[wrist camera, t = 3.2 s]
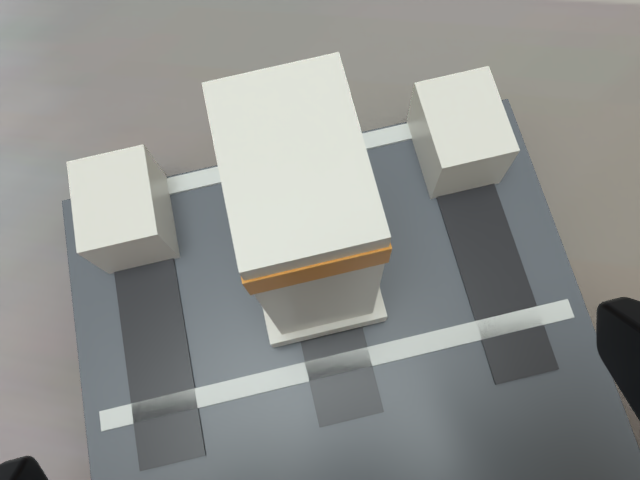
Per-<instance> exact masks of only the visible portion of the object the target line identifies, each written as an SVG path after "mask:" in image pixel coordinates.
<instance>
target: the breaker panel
mask: <svg viewBox="0 0 640 480" xmlns="http://www.w3.org/2000/svg"><path fill="white" fill-rule="evenodd" d="M362 135H363V139H364V142H365V146H366V150H367V153H368V157H369V160H370V164H371V167H372V171H373V174H374V178H375V181H376V185H377V188H378V192H379V195H380V199H381V202H382V206H383V210H384V213H385V217H386V220H387V224H388V227H389V231H390V234H391V241H390V242H391V246H392V251H391V255H390V259H389V263H385V265H384V269H383V273H382V278H381V282H380V286H379V287H380V290H381V294H382V298H383V301H384V305H385V309H386V313H387V316H388V317H387V319H386V321H384V322H380V323H375V324H371V325H367V326H363V327H359V328H354V329H350V330H346V331H342V332H338V333H333V334H329V335H325V336H321V337H317V338H313V339H308V340H304V341H300V342H296V343H292V344H287V345H283V346H279V347H275V348H273V347H272V346H271V345H270V341H269V337H268V332H267V327H266V322H265V317H264V312H263V307H262V306H261V304H260V303H259V301H258V300H257V298H256V297H255V295H254V294H253V295H250V294H249V293H248V291H247V290H246V288H245V287H244V286H243V284H242V280H241V275H240V274H239V271H238V266H237V261H236V256H235V251H234V246H233V241H232V235H231V230H230V225H229V220H228V215H227V210H226V205H225V200H224V195H223V190H222V184H221V179H220V174H219V169H218V165H217V166H212V167H208V168H204V169H199V170H195V171H190V172H186V173H182V174H177V175H173V176H169V177H167V176H166V175H165V174H164V172H163V171H162V169H161V168H160V167H159V165H158V164H157V162H156V161H155V160H154V158H153V157H152V155H151V154H150V153H149V151H148V150H147V148H146V147H145V146H144V144H143V145H138V146H134V147H129V148H125V149H121V150H116V151H112V152H107V153H103V154H99V155H94V156H90V157H85V158H81V159H77V160H72V161H68V162H67V170H68V179H69V188H70V197H71V199H68V200H64V201H62V207H63V216H64V226H65V235H66V245H67V254H68V264H69V273H70V283H71V292H72V302H73V311H74V321H75V331H76V340H77V350H78V359H79V369H80V378H81V388H82V397H83V407H84V416H85V426H86V435H87V445H88V454H89V464H90V474H91V480H640V449H639V447H638V444H637V441H636V439H635V436H634V433H633V431H632V428H631V425H630V423H629V420H628V417H627V415H626V412H625V409H624V407H623V404H622V401H621V399H620V396H619V393H618V391H617V388H616V385H615V383H614V380H613V377H612V376H611V374H610V373H609V371H608V369H607V368H606V366H605V365H604V363H603V361H602V360H601V358H600V356H599V353H598V350H597V345H596V332H595V330H594V327H593V324H592V322H591V319H590V316H589V314H588V311H587V308H586V306H585V303H584V300H583V298H582V295H581V292H580V290H579V287H578V284H577V282H576V279H575V276H574V274H573V271H572V268H571V266H570V263H569V260H568V258H567V255H566V252H565V250H564V247H563V244H562V242H561V239H560V236H559V234H558V231H557V228H556V226H555V223H554V220H553V218H552V215H551V212H550V210H549V207H548V204H547V202H546V199H545V196H544V194H543V191H542V188H541V186H540V183H539V180H538V178H537V175H536V172H535V170H534V167H533V164H532V162H531V159H530V156H529V154H528V151H527V148H526V146H525V143H524V140H523V138H522V135H521V133H520V130H519V127H518V125H517V122H516V119H515V117H514V114H513V111H512V109H511V106H510V103H509V101H508V99H505V100H501V98H500V95H499V92H498V90H497V87H496V84H495V82H494V79H493V76H492V74H491V71H490V68H489V66H486V67H482V68H478V69H473V70H469V71H464V72H460V73H456V74H451V75H447V76H442V77H438V78H434V79H429V80H425V81H420V82H416V83H414V87H413V92H412V97H411V102H410V107H409V112H408V117H407V122H405V123H400V124H396V125H391V126H387V127H383V128H378V129H374V130H370V131H365V132H362Z"/></svg>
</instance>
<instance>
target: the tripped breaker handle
mask: <svg viewBox="0 0 640 480" xmlns="http://www.w3.org/2000/svg"><path fill="white" fill-rule="evenodd" d="M202 87H203V93H204V98H205V103H206V108H207V113H208V118H209V123H210V128H211V133H212V138H213V144H214V149H215V154H216V159H217V164H218V169H219V174H220V179H221V184H222V190H223V195H224V200H225V205H226V210H227V215H228V220H229V225H230V230H231V235H232V241H233V246H234V251H235V256H236V261H237V266H238V271H239V274H240V275H241V280H242V284H243V286H244V287H245V288H246V290H247V291H248V293H249V294H250V295H253V294H254V295H255V297H256V298H257V300H258V301H259V303H260V304H261V306H262V307H263V312H264V317H265V322H266V327H267V332H268V337H269V341H270V345H271V346H272V347H273V348H275V347H279V346H283V345H287V344H292V343H296V342H300V341H304V340H308V339H313V338H317V337H321V336H325V335H329V334H333V333H338V332H342V331H346V330H350V329H354V328H359V327H363V326H367V325H371V324H375V323H380V322H384V321H386V319H387V317H388V316H387V313H386V309H385V305H384V301H383V298H382V294H381V290H380V287H379V286H380V282H381V278H382V273H383V269H384V265H385V263H389V259H390V255H391V251H392V246H391V242H390V241H391V234H390V231H389V227H388V224H387V220H386V217H385V213H384V210H383V206H382V202H381V199H380V195H379V192H378V188H377V185H376V181H375V178H374V174H373V171H372V167H371V164H370V160H369V157H368V153H367V150H366V146H365V142H364V139H363V135H362V132H361V128H360V125H359V121H358V118H357V114H356V111H355V107H354V104H353V100H352V97H351V93H350V89H349V86H348V82H347V79H346V75H345V72H344V68H343V65H342V61H341V58H340V54H339V52H336V53H332V54H327V55H323V56H318V57H314V58H309V59H305V60H300V61H296V62H292V63H287V64H283V65H278V66H274V67H269V68H265V69H260V70H256V71H251V72H247V73H242V74H238V75H234V76H229V77H225V78H220V79H216V80H211V81H207V82H202Z"/></svg>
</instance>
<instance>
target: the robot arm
mask: <svg viewBox="0 0 640 480" xmlns="http://www.w3.org/2000/svg"><path fill="white" fill-rule="evenodd" d="M596 345H597V350H598V353H599V356H600V358H601V360H602V361H603V363H604V365H605V366H606V368H607V369H608V371H609V373H610V374H611V376H612V377H613V379H614V381H615V382H616V384H617V385H618V387H619V389H620V390H621V392H622V393H623V395H624V397H625V398H626V400H627V401H628V403H629V405H630V406H631V408H632V409H633V411H634V412H635V414H636V416H637V417H638V419H639V420H640V301H637V300H634V299H631V298H627V297H620V298H616V299H612V300H609V301H605V302H602V303H601V304H599V306H598V308H597V323H596ZM0 480H48V478H47V477H46V475H45V474H44V472H43V470H42V469H41V467H40V465H39V464H38V462H37V461H36V460H35V459H34V458H33V457H31V456H24V457H20V458H16V459H13V460H9V461H6V462H3V463H2V464H0Z"/></svg>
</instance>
